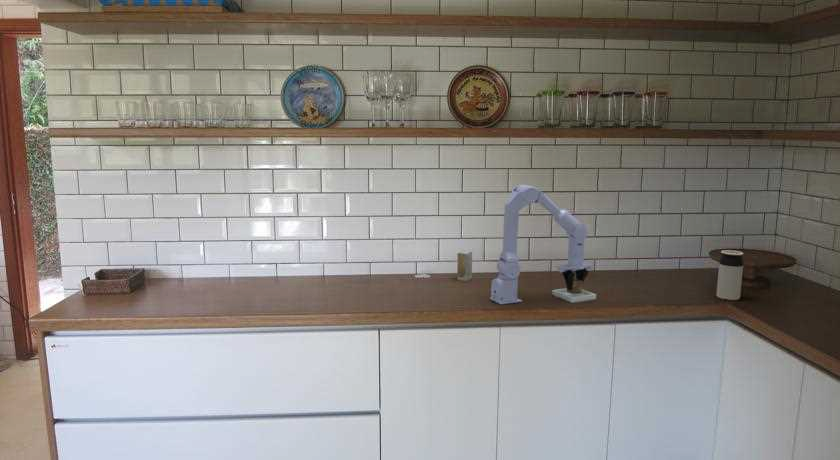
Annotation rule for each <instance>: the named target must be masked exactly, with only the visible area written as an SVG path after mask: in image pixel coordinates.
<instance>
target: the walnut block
mask: <svg viewBox="0 0 840 460" xmlns="http://www.w3.org/2000/svg"><path fill="white" fill-rule="evenodd" d="M582 289H583V285H582V280H579V279H576V277H574V279H573V286H572V290H569V289H567V292H569V293H571V294H580V293H582Z"/></svg>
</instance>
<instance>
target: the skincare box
mask: <svg viewBox="0 0 840 460" xmlns="http://www.w3.org/2000/svg"><path fill="white" fill-rule="evenodd" d="M456 279H457V281H463V282H467V281H469V280H471V279H473V251H472V250H461V251H458V252H457V278H456Z"/></svg>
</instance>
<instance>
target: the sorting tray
mask: <svg viewBox="0 0 840 460" xmlns="http://www.w3.org/2000/svg"><path fill="white" fill-rule="evenodd" d="M551 294H552V295H551V296H553V295H554V297H555V298H558V299H560V298H561V300H563V301H565V300H566V302H568V303H570V304H573V303H581V302H589V301H594V300H595V301H596V300H597V294H596V293H593V292H591V291H588V290H585V289H583V288H582V293H580V294H571V293H569V292H567V287H566V288H559V289H552V293H551Z"/></svg>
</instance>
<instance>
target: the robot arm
mask: <svg viewBox="0 0 840 460" xmlns="http://www.w3.org/2000/svg"><path fill="white" fill-rule="evenodd" d="M533 203H535V204H539V205H540V206H541V207H542V208H543V209H545V210H546V211H547V212H549V214H551V215H552V216H553V221H554V222H555V223H556V224H557V225H559V226H560V228H562V229H563V230H564V231H565V232H566V234H567V235H568V250H567V251H568V252H567V253H568V254H567V264H564V265H560V266H558V267H557V272H559V273H561V275H562V276H563V278H564V281H565V286H566V288H567V289H569V290H572V286H573V279H574V278H576V279H579V280H582V286H583V285H584V281H585V280H586V278H587V276H588V274H589V270H592V269H593V264H592V263H589V262H588V263H584V259H585V258H584V255H585V254H584V253H585V241H586V237H587V236H588V234H589V231H588V228H587V227H586V225H585V224H583V223H579V222H580V220H579V219H578V218H575V217H574V216H573V215H572V214H571V211H570V210H569V209H567V210H566V209H563V208H562V209H560V208H559V207H558V206H557V205H556V204H555V203H554V202H553V201H552V200H551V199H550V198H549V197H548V196H546V194H545V193H544V192H543V191H541V190H539V189H538V188H537V187H535V186H534V185H528V184H525V183H520V184H518V185H516V186H515V187H514V188H512V190H511V193H510V195H509V197H508V199H507V200H506V201H505V204H504V214H503V215H504V217H503V234H502V235H503V237H502V251H501V253H500V254H499V259H498V261H497V264H496V269H497V270H498V272H499V273H498V276H497V277H496V278H494V279H492V281H491V285H490V287H491V288H490V297H489V299H490V300H491V301H493V302H495V303H497V304H499V305H507V304H514V303H521V302H523V300H522V299H519V298H518V292H519V291H518V289H519V288H518V287H519V286H518V285H519V284H518V283H519V282H518V281H519V276H520V275H521V267H520V264H519V256H518V252H517V249H518V235H519V217H520V215H519V213H520V211H521V210H522V209H523V208H524V207H526V206H528V205H532V204H533ZM573 271H574V272H575V273H574V272H573ZM575 275H576V277H575Z"/></svg>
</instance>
